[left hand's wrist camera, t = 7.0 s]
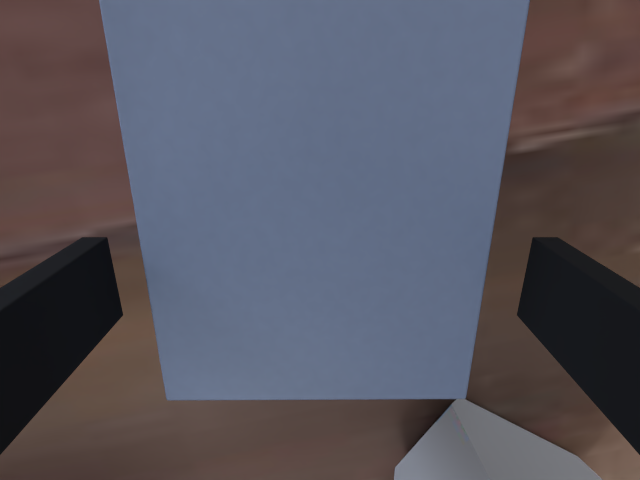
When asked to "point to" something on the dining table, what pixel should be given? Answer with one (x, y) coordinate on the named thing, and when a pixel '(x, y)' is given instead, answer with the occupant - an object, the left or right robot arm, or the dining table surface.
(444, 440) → the electronic device
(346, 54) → the cabinet
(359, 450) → the dining table surface
